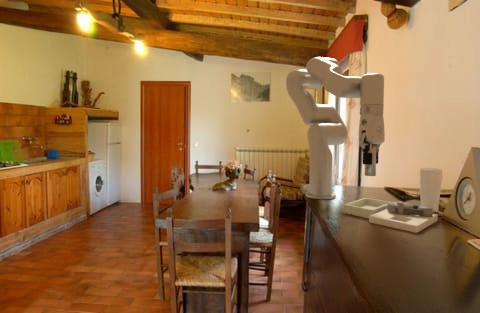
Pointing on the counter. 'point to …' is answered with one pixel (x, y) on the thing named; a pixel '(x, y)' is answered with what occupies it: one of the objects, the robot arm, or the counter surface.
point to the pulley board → (405, 216)
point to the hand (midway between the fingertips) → (370, 163)
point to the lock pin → (371, 169)
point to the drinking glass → (430, 187)
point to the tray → (365, 207)
